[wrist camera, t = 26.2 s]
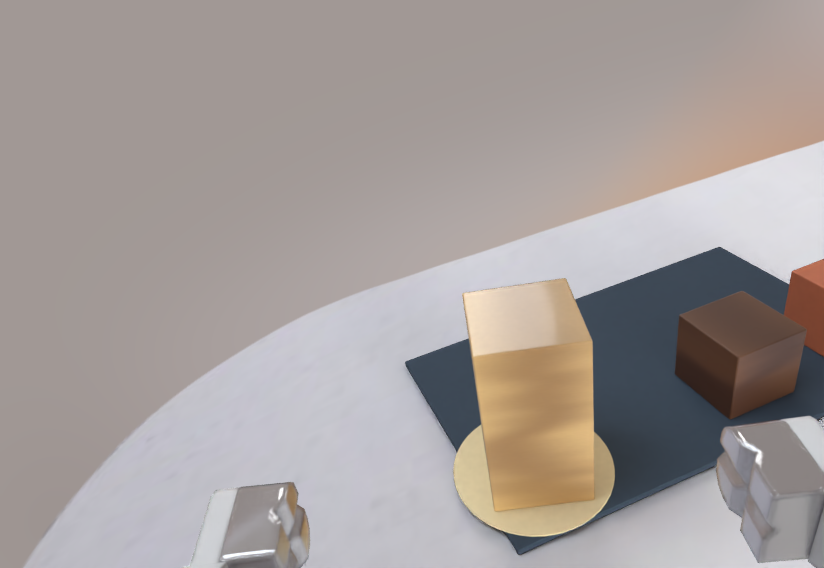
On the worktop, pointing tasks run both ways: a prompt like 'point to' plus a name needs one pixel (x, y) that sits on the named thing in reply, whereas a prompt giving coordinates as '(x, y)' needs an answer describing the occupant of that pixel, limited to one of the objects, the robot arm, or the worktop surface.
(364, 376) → the worktop surface
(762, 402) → the walnut block
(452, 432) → the pattern mat
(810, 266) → the terracotta block
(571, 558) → the worktop surface
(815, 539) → the robot arm
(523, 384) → the brass rectangular block
